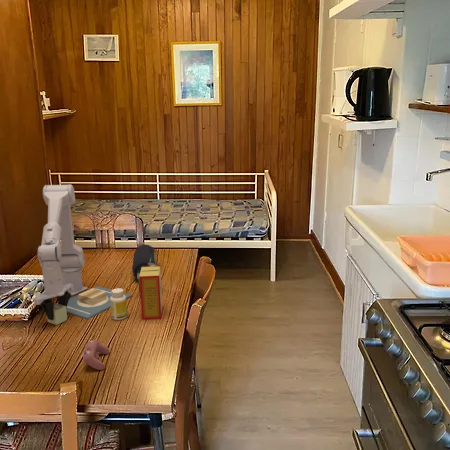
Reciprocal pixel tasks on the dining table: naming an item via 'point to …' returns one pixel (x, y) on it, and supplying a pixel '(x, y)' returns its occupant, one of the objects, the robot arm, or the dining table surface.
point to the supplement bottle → (118, 304)
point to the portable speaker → (143, 258)
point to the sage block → (58, 314)
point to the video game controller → (94, 354)
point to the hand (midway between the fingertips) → (57, 316)
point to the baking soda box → (151, 292)
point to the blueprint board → (90, 309)
